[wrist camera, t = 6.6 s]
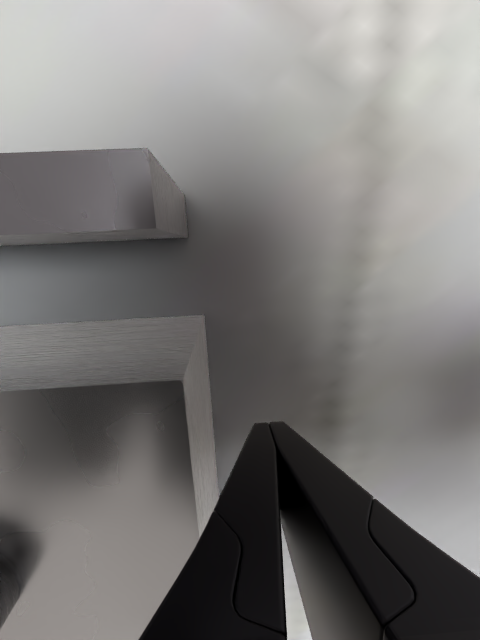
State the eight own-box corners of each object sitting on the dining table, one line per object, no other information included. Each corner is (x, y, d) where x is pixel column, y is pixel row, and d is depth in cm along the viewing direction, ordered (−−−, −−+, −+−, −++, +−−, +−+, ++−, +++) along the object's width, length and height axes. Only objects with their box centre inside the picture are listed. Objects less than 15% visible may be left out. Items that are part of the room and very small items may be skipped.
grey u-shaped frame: (184, 194, 8) (147, 147, 4) (215, 552, 12) (210, 703, 8) (-176, 209, 8) (-554, 173, 4) (-39, 572, 11) (-177, 741, 7)
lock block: (204, 313, 10) (174, 405, 4) (220, 510, 12) (214, 759, 6) (-74, 328, 9) (-541, 453, 4) (-8, 528, 11) (-242, 809, 6)
